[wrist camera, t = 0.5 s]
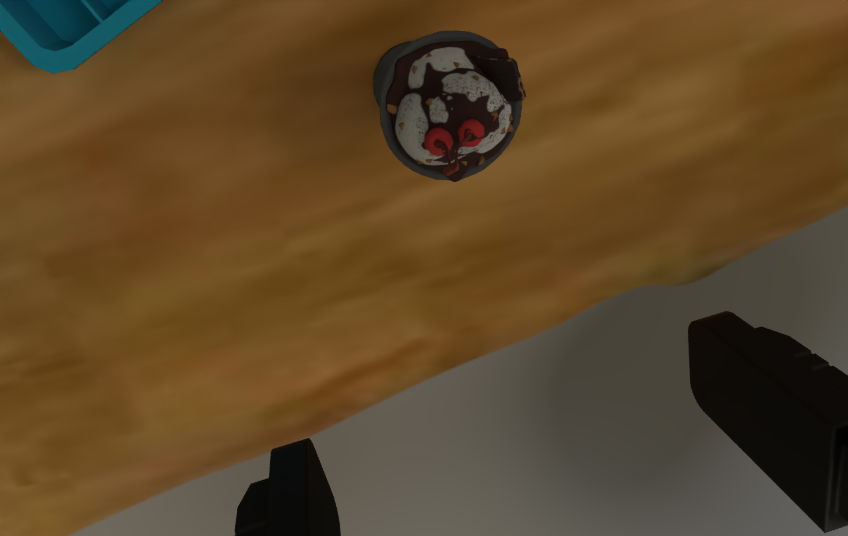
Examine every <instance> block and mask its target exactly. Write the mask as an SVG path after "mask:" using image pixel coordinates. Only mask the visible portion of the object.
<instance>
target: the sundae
mask: <svg viewBox="0 0 848 536" xmlns="http://www.w3.org/2000/svg"><path fill="white" fill-rule="evenodd" d="M374 94H375V97H376V100H377V102H378V104H379V106H380V119H381V126H382V130H383V133H384V136H385V139H386V141H387V144H388V146H389V148H390V149H391V151H392V152H393V154H394V155H395V156H396V157H397V158H398V159H399V160H400V161H401V162H402V163H403V164H404V165H405V166H407V167H408V168H409V169H411V170H412V171H414V172H417V173H419V174H421V175H423V176H427V177H430V178H433V179H436V180H450V181H453V182H457V181H459V180H461V179H463V178H466V177H469V176H471V175H474V174H476V173H478V172H480V171H482V170H484V169H485V168H486V167H488V166H489V165H490V164H491V163H492V162H494V161H495V160H496V159H497V158H498V157H499V156H500V155H501V154H502V152H503V151H504V150H505V149H506V148H507V146H508V145H509V144H510V142H511V140H512V138H513V137H514V135H515V132H516V130H517V128H518V125H519V123H520V117H521V110H522V100H524V99H526V94H525V89H524V84H523V80H522V78H521V75H520V73H519V70H518V66H517V62H516V61H515V60H514V59H513V58H509V57H508V52H507V51H506V50H505V49H503V48H499V47H497V46H496V45H495V44H494V43H493V42H492V41H490V40H488V39H486V38H484V37H482V36H480V35H477V34H474V33H471V32H466V31H440V32H437V33H433V34H430V35H427V36H424V37H422V38H419V39H417V40H415V41H413V42H405V43H402V44H400V45H398V46H396V47H394V48H392V49H391V50H390V51H388V52H387V53H386V54H385V56H384V57H383V58H382V59H381V60H380V62H379V64H378V67H377V69H376V72H375V75H374Z"/></svg>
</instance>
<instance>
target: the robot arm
mask: <svg viewBox="0 0 848 536" xmlns="http://www.w3.org/2000/svg"><path fill="white" fill-rule="evenodd" d="M688 342H689V366H690V384H691V389H692V392H693V395H694V397H695V399H696V401H697V403H698V404H699V406H700V407H701V409H702V410H703V411H704V412H705V413H706V414H707V415H708V416H709V417H710V418H711V419H712V420H713V421H714V422H715V423H716V424H717V425H718V426H719V427H720V428H721V429H722V430H723V431H724V432H725V433H726V434H727V435H728V436H729V437H730V438H731V439H732V440H733V441H734V442H735V443H736V444H737V445H738V446H739V447H740V448H741V449H742V450H743V451H744V452H745V453H746V454H747V455H748V456H749V457H750V458H751V459H752V460H753V461H754V462H755V463H756V464H757V465H758V466H759V467H760V468H761V469H762V470H763V471H764V472H765V473H766V474H767V475H768V476H769V477H770V478H771V479H772V480H773V481H774V482H775V483H776V484H777V485H778V486H779V487H780V488H781V489H782V490H783V491H784V492H785V493H786V494H787V495H788V496H789V497H790V499H791V500H793V501H794V502H795V504H797V506H799V508H800V509H801V510H803V511H804V512H805V513H806V514H807V515H808V517H809V518H811V520H813V522H815V524H817V526H818V527H819V528H820V529H822V531H823V532H824V533H826V532H829V531H832V530H835V529H838V528H841V527H844V526H847V525H848V375H846V374H845V373H843V372H842V371H840V370H839V369H837V368H836V367H834V366H829V364H828V362H827V361H825V360H824V359H822V358H821V357H819V356H818V355H817V354H812V353H811V350H809V349H808V348H806V347H805V346H803V345H802V344H800V343H799V342H797V341H796V340H794V339H793V338H791V337H790V336H787V335H784V334H781V333H779V332H776V331H773V330H770V329H767V328H764V327H758V328H753V327H752V326H751V325H749V324H748V323H746V322H745V321H743V320H742V319H741V318H739V317H738V316H736V315H735V314H734V313H732V312H729V311H725V312H721V313H718V314H715V315H712V316H709V317H705V318H702V319H699V320H696V321H693V322H691V323H690V325H689V328H688ZM235 534H236V535H235V536H341V533H340V523H339V516H338V511H337V507H336V503H335V500H334V496H333V494H332V491H331V488H330V486H329V483H328V481H327V478H326V476H325V474H324V471H323V468H322V465H321V463H320V460H319V458H318V455H317V453H316V450H315V448H314V446H313V443H312V441H311V440H310V439H309V438H307V439H304V440H300V441H297V442H294V443H291V444H287V445H284V446H281V447H278V448H274V449H272V451H271V458H270V472H269V478H268V479H265V480H261V481H258V482H255V483H252V484H250V486H249V488H248V490H247V492H246V493H245V495H244V497H243V499H242V501H241V502H240V504H239V506H238V508H237V516H236V525H235Z"/></svg>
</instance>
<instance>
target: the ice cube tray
mask: <svg viewBox="0 0 848 536" xmlns="http://www.w3.org/2000/svg"><path fill="white" fill-rule="evenodd" d="M162 1H163V0H0V31H1V32H2V33H3V34H4V35H5V36H6V37H7V38H8V39H9V40H10V41H11V42H12V44H13V45H14V46H15V47H16V48H17V49H18V50H19V51H20V52H21V53H22V54H23V55H24V56H25V57H26V58H27V59H28V60H29V61H30V63H31V64H32V65H33V66H35V67H38V68H40V69H43V70H45V71H48V72H50V73H58V72H63V71H68V70H73V69H75V68H77V67H78V66H79V65H81V64H82V63H83V62H84V61H86V60H87V59H88V58H90V57H91V56H92V55H93V54H95V53H96V52H97V51H99V50H100V49H101V48H102V47H104V46H105V45H106V44H108V43H109V42H110V41H111V40H113V39H114V38H115V37H117V36H118V35H119V34H120V33H122V32H123V31H124V30H126V29H127V28H128V27H129V26H131V25H132V24H133V23H135V22H136V21H137V20H138V19H140V18H141V17H142V16H144V15H145V14H146V13H147V12H149V11H150V10H151V9H153V8H154V7H155V6H156V5H158V4H159V3H160V2H162Z"/></svg>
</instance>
